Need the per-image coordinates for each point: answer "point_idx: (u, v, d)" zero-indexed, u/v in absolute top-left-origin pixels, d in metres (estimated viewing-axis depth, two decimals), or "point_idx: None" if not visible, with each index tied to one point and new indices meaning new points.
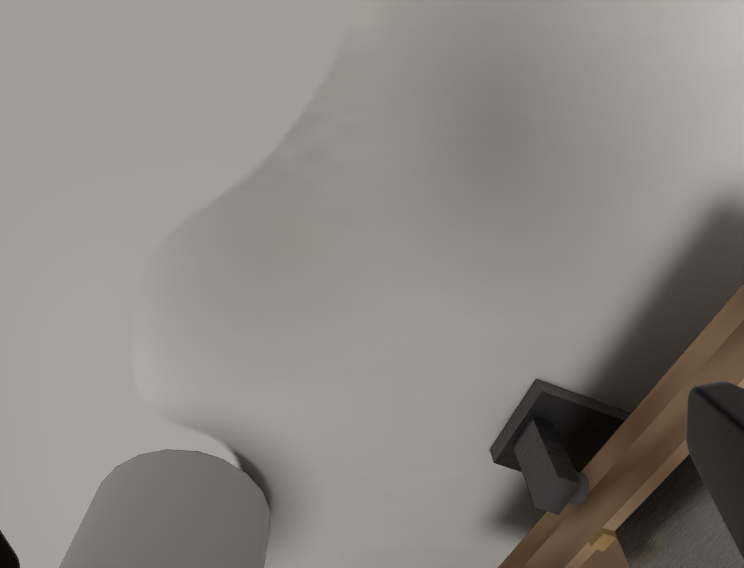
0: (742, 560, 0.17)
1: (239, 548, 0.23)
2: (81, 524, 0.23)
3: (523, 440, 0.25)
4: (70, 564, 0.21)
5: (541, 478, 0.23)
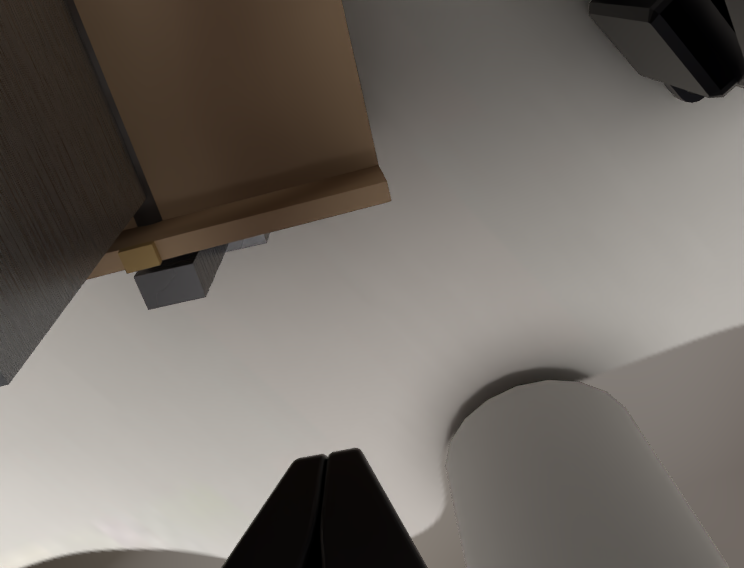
0: None
1: (472, 504, 0.20)
2: None
3: None
4: None
5: None
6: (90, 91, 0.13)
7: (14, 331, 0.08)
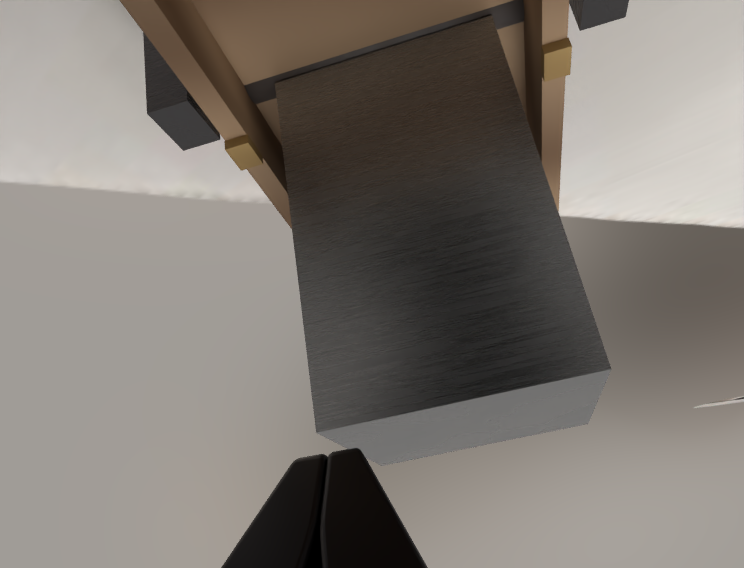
0: None
1: None
2: None
3: None
4: None
5: None
6: (376, 81, 0.13)
7: (572, 335, 0.10)
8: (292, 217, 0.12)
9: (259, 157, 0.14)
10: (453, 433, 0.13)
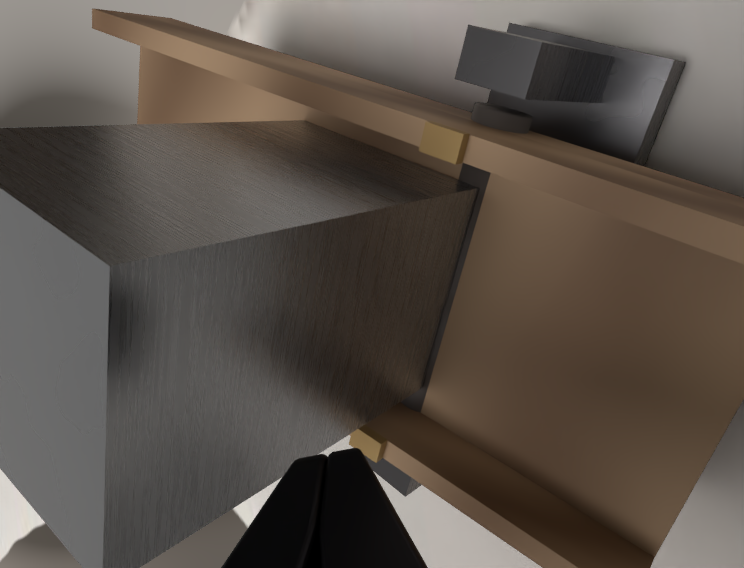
0: None
1: None
2: None
3: None
4: None
5: None
6: (429, 296, 0.13)
7: (147, 542, 0.09)
8: (368, 214, 0.10)
9: (428, 154, 0.11)
10: None
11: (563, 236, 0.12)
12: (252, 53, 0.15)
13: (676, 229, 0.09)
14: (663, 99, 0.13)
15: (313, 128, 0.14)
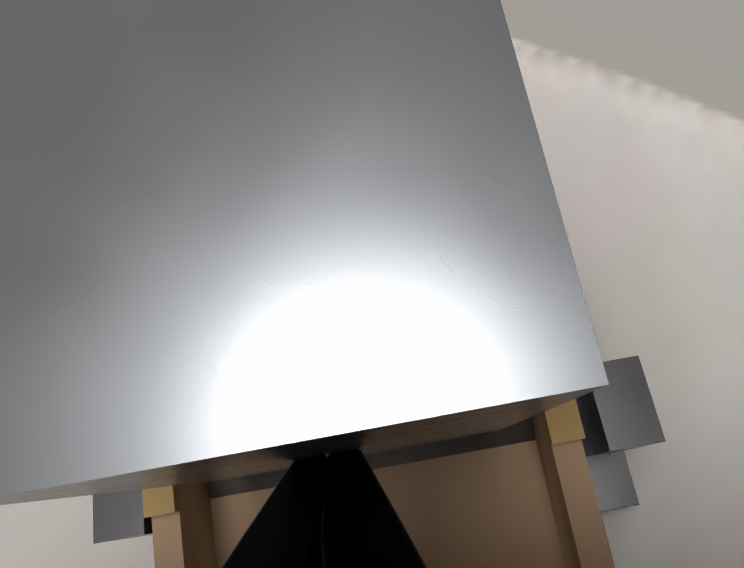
0: None
1: None
2: None
3: None
4: None
5: None
6: (374, 453, 0.11)
7: (7, 500, 0.05)
8: None
9: None
10: (250, 91, 0.05)
11: (503, 550, 0.11)
12: None
13: None
14: (601, 510, 0.14)
15: None
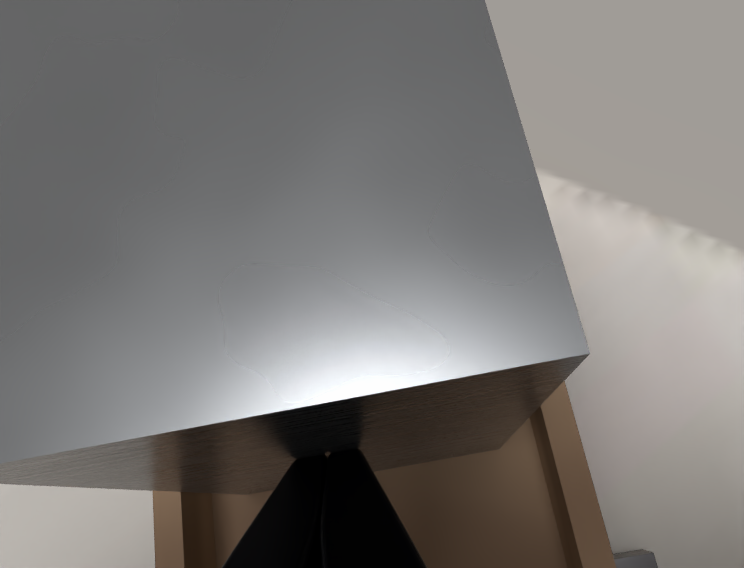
0: None
1: None
2: None
3: None
4: None
5: None
6: (378, 468, 0.11)
7: (25, 474, 0.05)
8: (517, 428, 0.08)
9: None
10: (260, 95, 0.05)
11: None
12: None
13: None
14: None
15: None
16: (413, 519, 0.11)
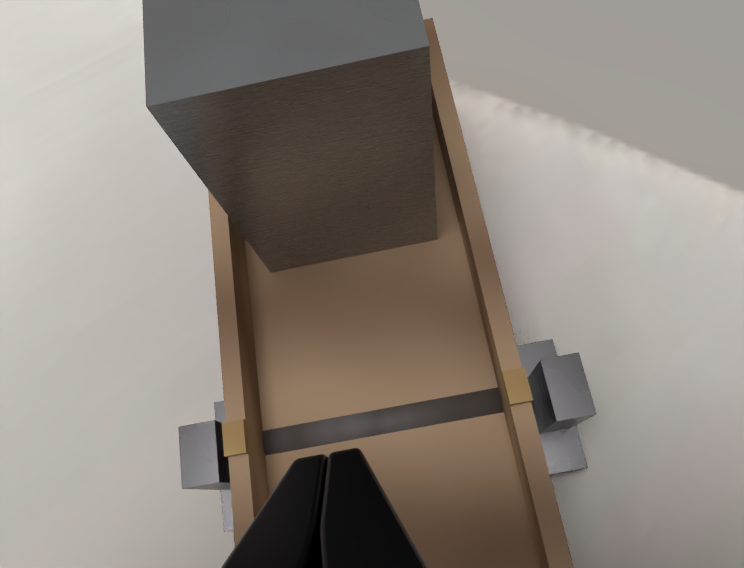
0: None
1: None
2: None
3: None
4: None
5: None
6: (356, 243, 0.17)
7: (184, 124, 0.11)
8: (433, 177, 0.14)
9: (503, 379, 0.15)
10: None
11: (480, 491, 0.15)
12: None
13: None
14: (559, 472, 0.19)
15: None
16: (382, 290, 0.17)
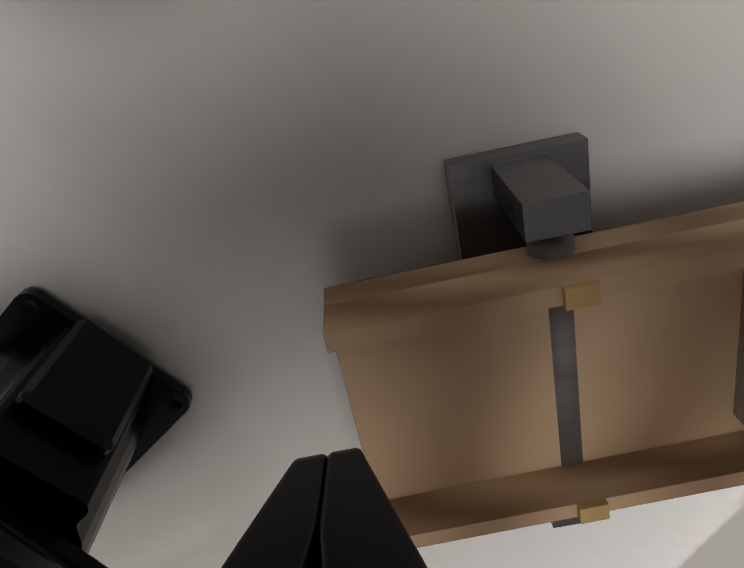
0: None
1: None
2: None
3: (519, 165, 0.17)
4: None
5: (548, 188, 0.15)
6: None
7: None
8: None
9: (601, 504, 0.17)
10: None
11: (498, 451, 0.18)
12: None
13: (446, 534, 0.17)
14: None
15: None
16: (695, 369, 0.17)
